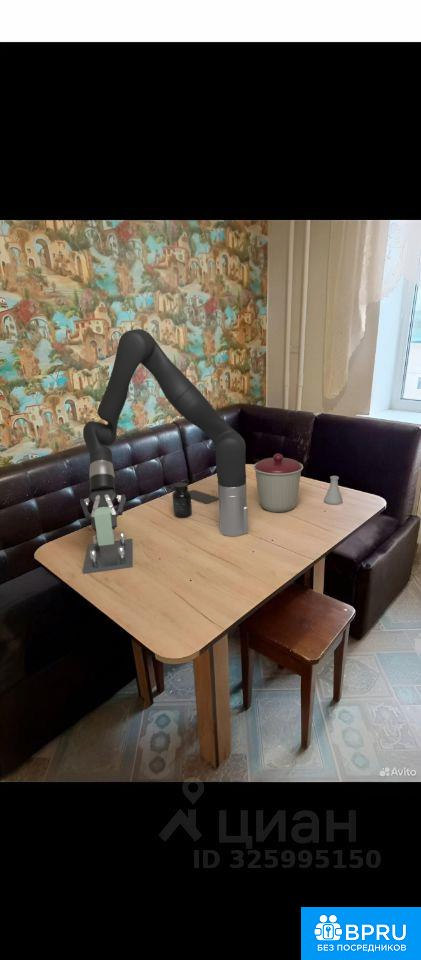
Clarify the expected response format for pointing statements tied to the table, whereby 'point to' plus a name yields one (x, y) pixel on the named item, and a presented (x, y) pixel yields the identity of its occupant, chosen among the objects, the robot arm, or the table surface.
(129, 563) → the plate
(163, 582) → the table surface
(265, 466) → the canister
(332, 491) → the flask
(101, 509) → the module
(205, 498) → the smartphone
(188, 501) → the supplement bottle
